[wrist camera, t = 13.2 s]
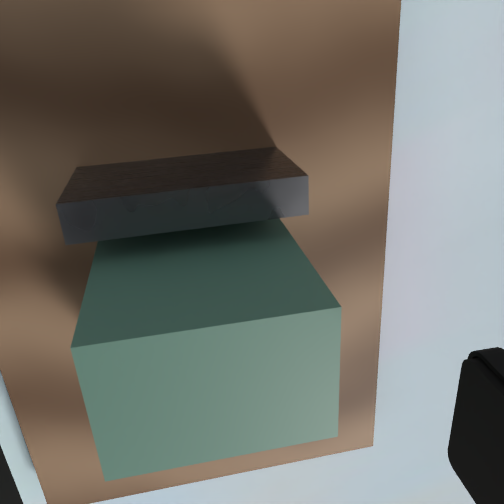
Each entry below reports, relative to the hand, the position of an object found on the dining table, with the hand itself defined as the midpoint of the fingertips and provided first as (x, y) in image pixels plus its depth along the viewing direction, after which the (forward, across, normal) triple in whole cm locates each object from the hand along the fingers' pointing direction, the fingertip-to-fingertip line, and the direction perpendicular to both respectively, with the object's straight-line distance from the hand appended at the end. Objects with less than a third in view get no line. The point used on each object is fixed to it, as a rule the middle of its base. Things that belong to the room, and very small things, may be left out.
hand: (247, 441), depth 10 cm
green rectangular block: (+10, +1, 0) cm, 10 cm away
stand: (+11, +1, 0) cm, 11 cm away
